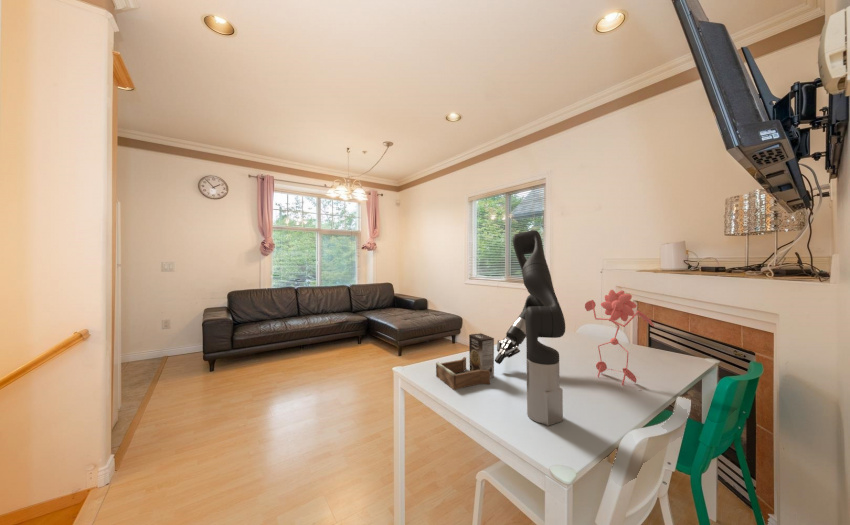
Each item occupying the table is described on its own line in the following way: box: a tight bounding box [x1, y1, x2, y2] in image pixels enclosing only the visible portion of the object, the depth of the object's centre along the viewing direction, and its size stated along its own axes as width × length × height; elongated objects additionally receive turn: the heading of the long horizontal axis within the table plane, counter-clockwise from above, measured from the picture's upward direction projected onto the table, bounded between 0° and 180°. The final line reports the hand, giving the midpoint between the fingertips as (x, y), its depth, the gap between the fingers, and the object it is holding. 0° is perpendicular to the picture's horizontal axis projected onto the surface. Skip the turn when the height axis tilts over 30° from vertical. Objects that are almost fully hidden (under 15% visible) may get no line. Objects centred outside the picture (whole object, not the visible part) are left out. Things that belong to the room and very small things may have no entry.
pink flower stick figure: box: [584, 289, 655, 392], centre depth 117 cm, size 15×26×35 cm, turn 30°
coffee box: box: [468, 332, 495, 379], centre depth 122 cm, size 9×6×16 cm
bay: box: [435, 356, 491, 390], centre depth 118 cm, size 18×15×6 cm
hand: (497, 362), depth 125 cm, fingers closed
